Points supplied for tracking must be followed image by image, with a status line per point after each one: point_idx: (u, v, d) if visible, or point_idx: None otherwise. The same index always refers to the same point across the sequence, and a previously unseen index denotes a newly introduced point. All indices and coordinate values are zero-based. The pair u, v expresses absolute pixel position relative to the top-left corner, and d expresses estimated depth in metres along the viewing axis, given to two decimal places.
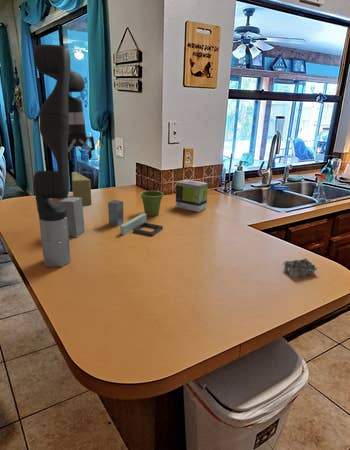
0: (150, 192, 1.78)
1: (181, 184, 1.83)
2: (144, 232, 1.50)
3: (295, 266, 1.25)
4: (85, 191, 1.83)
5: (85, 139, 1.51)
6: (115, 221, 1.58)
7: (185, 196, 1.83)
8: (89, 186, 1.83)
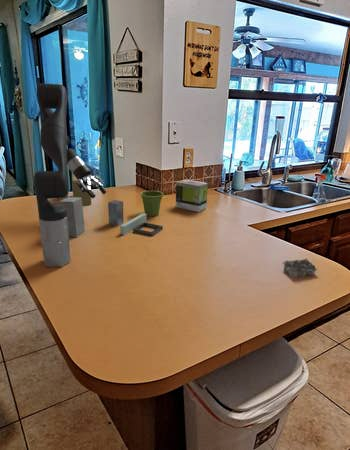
0: (150, 192, 1.78)
1: (181, 184, 1.83)
2: (144, 232, 1.50)
3: (295, 266, 1.25)
4: None
5: (93, 177, 1.63)
6: (115, 221, 1.58)
7: (185, 196, 1.83)
8: None
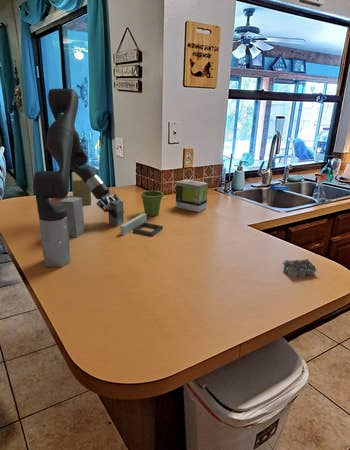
0: (150, 192, 1.78)
1: (181, 184, 1.83)
2: (144, 232, 1.50)
3: (296, 266, 1.25)
4: (85, 191, 1.84)
5: (112, 196, 1.62)
6: (115, 221, 1.58)
7: (185, 196, 1.83)
8: None
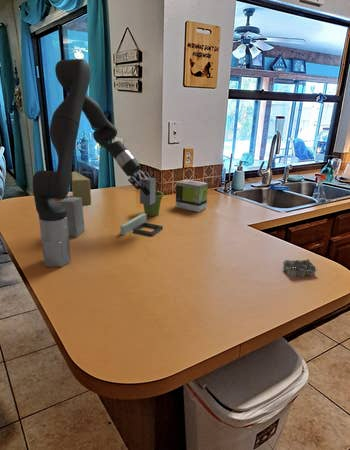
0: None
1: (181, 184, 1.83)
2: (144, 232, 1.50)
3: (296, 266, 1.25)
4: (85, 191, 1.84)
5: (143, 173, 1.50)
6: (147, 200, 1.47)
7: (185, 196, 1.83)
8: (88, 186, 1.84)
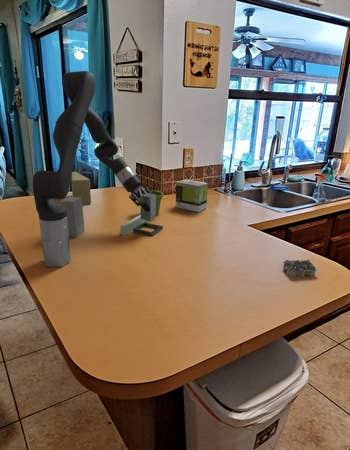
0: None
1: (181, 184, 1.83)
2: (144, 232, 1.50)
3: (296, 266, 1.25)
4: (85, 191, 1.84)
5: (144, 189, 1.53)
6: (147, 216, 1.50)
7: (185, 196, 1.83)
8: (88, 186, 1.84)
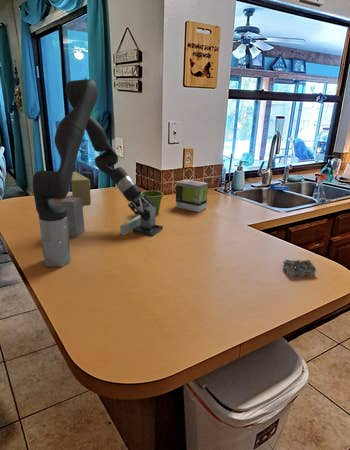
0: (150, 192, 1.78)
1: (181, 184, 1.83)
2: (144, 232, 1.50)
3: (297, 266, 1.25)
4: (85, 191, 1.84)
5: (143, 198, 1.54)
6: (147, 228, 1.52)
7: (185, 196, 1.83)
8: (88, 186, 1.84)
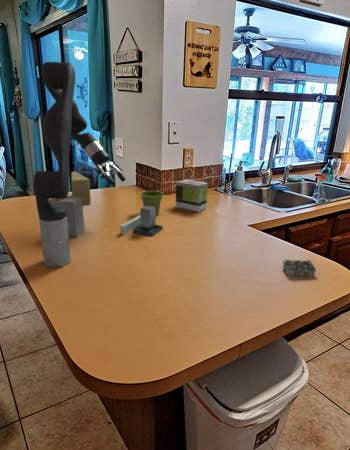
0: (150, 192, 1.78)
1: (181, 184, 1.83)
2: (144, 232, 1.50)
3: (297, 266, 1.25)
4: (84, 191, 1.84)
5: (112, 163, 1.54)
6: (147, 228, 1.52)
7: (185, 196, 1.83)
8: (88, 186, 1.84)
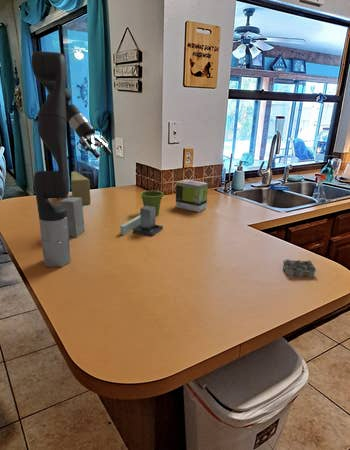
0: (150, 192, 1.78)
1: (181, 184, 1.83)
2: (144, 232, 1.50)
3: (297, 266, 1.25)
4: (84, 191, 1.84)
5: (97, 137, 1.50)
6: (147, 228, 1.52)
7: (185, 196, 1.83)
8: (88, 186, 1.84)
